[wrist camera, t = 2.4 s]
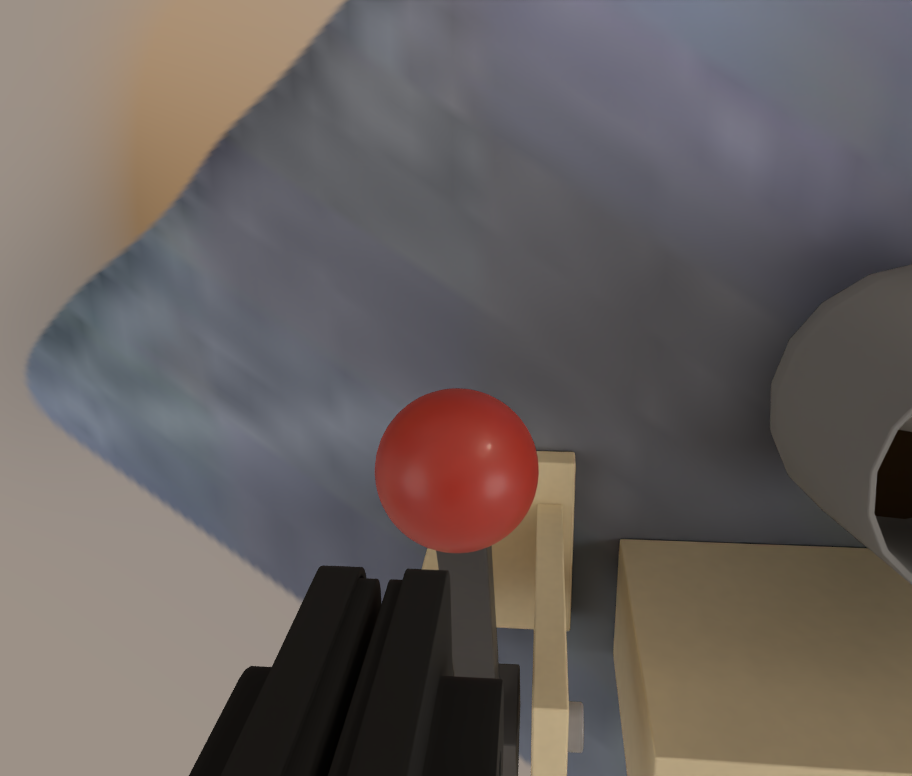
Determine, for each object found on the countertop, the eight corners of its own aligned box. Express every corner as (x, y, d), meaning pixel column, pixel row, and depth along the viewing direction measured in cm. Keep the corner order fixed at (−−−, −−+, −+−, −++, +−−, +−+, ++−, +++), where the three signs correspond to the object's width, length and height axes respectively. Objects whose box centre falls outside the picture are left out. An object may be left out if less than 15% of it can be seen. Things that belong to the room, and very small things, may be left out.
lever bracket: (430, 447, 33) (364, 644, 21) (574, 451, 33) (590, 656, 21) (435, 608, 36) (380, 863, 24) (569, 615, 35) (580, 879, 23)
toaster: (619, 538, 34) (655, 760, 22) (918, 549, 32) (1115, 791, 21) (612, 654, 36) (642, 911, 24) (893, 669, 34) (1061, 948, 23)
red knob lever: (378, 353, 16) (348, 481, 13) (541, 355, 15) (538, 487, 13) (439, 686, 26) (428, 789, 24) (536, 692, 26) (533, 797, 24)
